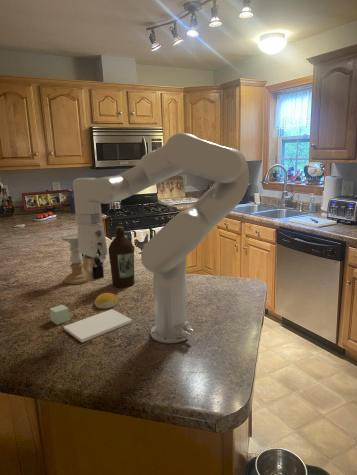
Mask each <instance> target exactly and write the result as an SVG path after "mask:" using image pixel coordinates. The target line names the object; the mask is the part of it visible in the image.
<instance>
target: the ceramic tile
mask: <svg viewBox="0 0 357 475" xmlns="http://www.w3.org/2000/svg"><path fill="white" fill-rule="evenodd" d="M132 323H133V319H131V318H130V317H127V316H126V315H124V314H122V313H120V312H118V311H117V310H114V309H108V310H106V311H103V312H100V313H98V314H95V315H91V316H89V317H85V318H84V319H80V320H77V321H75V322H72V323H70V324H66V325H64V326H63V330H65V332H68V334H69V335H71V336H72V337H74V338H75V339H76V340H78V341H79V342H80V343H84V342H88V341H90V340H92V339H94V338H97V337H100V336H102V335H104V334H107V333H110V332H112V331H115V330H118V329H119V328H122V327H124V326H127V325H129V324H132Z"/></svg>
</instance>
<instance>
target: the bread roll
mask: <svg viewBox="0 0 357 475" xmlns="http://www.w3.org/2000/svg"><path fill="white" fill-rule="evenodd" d="M117 303H118V298H117V295H115V294H114V293H112V292H103V293H101V294H99V295H98V296H96V298H95V300H94V305H95V307H96V308H98V309H110V308H113V307H115V306H116V305H117Z"/></svg>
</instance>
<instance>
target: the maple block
mask: <svg viewBox="0 0 357 475" xmlns="http://www.w3.org/2000/svg"><path fill="white" fill-rule="evenodd" d="M96 256H99V255H98V254H96ZM97 259H99V258H96V261H97ZM82 263H83V267H82V269H83V272H84V279H86V280H89V281H88V282H91V283H92V282H95V281H99V280H103V279H105V270H104V268H103V278H99V279H96V280H95V279H93V269H92V267H94V266H93V261H92V257H90V256H85V257H82ZM102 266H103V267H104V264H103V265H102Z"/></svg>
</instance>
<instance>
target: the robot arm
mask: <svg viewBox="0 0 357 475" xmlns="http://www.w3.org/2000/svg"><path fill="white" fill-rule="evenodd" d="M183 172H186V173H189V174H192V175H195V176H198V177H200V178H203V179H206V180H208V181H212V182H214V183H213V184H212V186H211V187H210V188H209V189H208V190H206V191H205V192H204V194H203V195H202V196H201V197H199V198H198V199H197V200H196V201H195V202H194V203H193V204H191V205H190V206H189V207H188V208H185V209H184V210H182V211H180V212H179V213H178V214H176V215H175V216H173V217H172V218H171V219H170V220H169V221H168V222H167V223H166V224H164V226H163V227H161V229H159V231H158V232H156V233H155V234H154V235H153V237H151V238H150V239H149V240H148V241H147V242H146V243H145V244H144V245H143V247H142V249H141V253H140V258H141V259H140V260H141V264H142V266H143V267H144V268H145V269H146V271H148V272H149V273H152V274H153V276H152V277H153V278H152V279H153V280H152V281H153V302H154V303H153V304H154V321H155V322H154V323H155V324H154V325H153V326H152V327H151V329H150V336H151V338H152V339H153V340H154V341H156V342H159V343H163V344H176V343H182V342H184V341H185V342H186V340H187V341H189V340H192V336H193V335H194V334H195V330H194V329H193V328H192V327H191V325H190V321H188V320H187V319H188V318H187V286H186V285H187V283H186V281H187V280H186V279H187V278H186V277H187V276H186V271H187V270H186V266H187V256H188V255H189V254H191V253H192V252H193V251H194V250H195V249H196V248H197V247H198V246H199V245H200V244H201V243H202V242H203V241H204V240H205V239H206V238H207V237H208V235H209V234H210V232H211V231H212V230H213V229H214V228H215V227H217V225H218V224H220V223H221V222H222V221H223V220H224V219H225V218H226V217H227V216H228V215H229V214H230V213H231V212H232V211H233V210H234V209H235V208H236V207H237V206H238V205H239V203H240V202H241V201H242V200H243V198H244V196H245V195H246V192H247V189H248V187H249V183H250V170H249V165H248V162H247V159H246V156H244V154H243V153H242V152H241V151H240V150H238V149H235V148H231V147H227V146H223V145H220V144H217V143H214V142H211V141H207V140H205V139H201V138H199V137H197V136H196V135H194V134H191V133H185V132H178V133H175V134H174V135H171V136H170V137H169V138H168V139H167V141H166V142H165V144H164V145H161V146H159V147H158V148H156V149H153V150H152V151H149V152H148V153H146V154H144V155H142V157H141V159H140V161H139V162H138V164H137V165H134V167H132V168H129V169H127V170H125V171H124V172H121V173H120V174H117V175H111V176H109V175H108V176H104V177H103V176H102V177H97V178H96V177H78V178H75V179H74V180H73V182H72V190H73V199H74V201H73V202H74V210H75V211H74V212H75V219H76V220H75V221H76V222H75V223H76V226H77V234H78V246H79V251H80V253H81V256H82V257H85V256H90V257H92V261H93V266H94V267H92V269H93V279H95V280H96V279H99V278H103V269H104V262H105V261H106V259H107V255H108V247H107V239H106V233H105V229H104V224H103V218H102V205H101V204H105V205H106V204H112V203H116V202H118V201H122V200H125V199H127V198H130V197H132V196H134V195H136V194H138V193H140V192H143V191H144V190H146V189H149V188H150V187H153V186H156V185H157V184H159V183H162V182H164V181H166V180H169V179H170V178H172V177H174V176H177V175H178V174H180V173H183ZM96 255H99V256H96ZM96 258H99V259H97V261H96ZM102 265H103V266H102ZM103 279H104V278H103ZM99 280H100V279H99ZM96 281H97V280H96Z"/></svg>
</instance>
